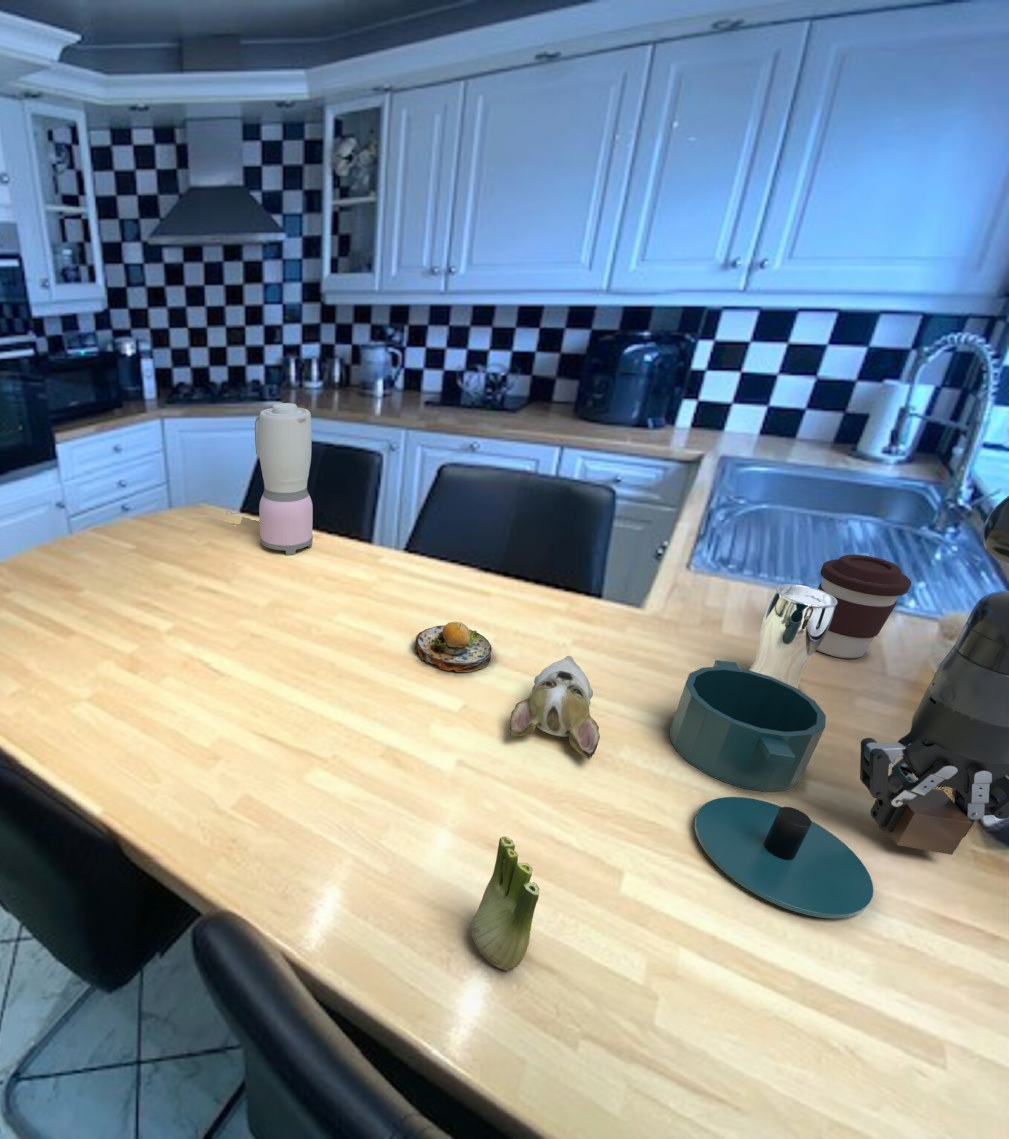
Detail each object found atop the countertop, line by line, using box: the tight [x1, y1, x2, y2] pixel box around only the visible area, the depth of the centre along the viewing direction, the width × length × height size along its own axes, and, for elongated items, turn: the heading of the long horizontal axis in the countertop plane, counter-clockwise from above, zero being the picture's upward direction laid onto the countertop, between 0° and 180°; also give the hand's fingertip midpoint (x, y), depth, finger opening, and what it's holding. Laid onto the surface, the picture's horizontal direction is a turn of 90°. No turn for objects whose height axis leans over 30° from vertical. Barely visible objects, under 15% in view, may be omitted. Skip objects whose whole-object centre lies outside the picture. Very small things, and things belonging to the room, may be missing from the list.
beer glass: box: [748, 583, 838, 690], centre depth 89 cm, size 7×7×15 cm
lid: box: [694, 796, 874, 919], centre depth 64 cm, size 15×15×6 cm
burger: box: [414, 621, 493, 673], centre depth 101 cm, size 12×12×8 cm
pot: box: [669, 659, 827, 793], centre depth 78 cm, size 14×19×8 cm
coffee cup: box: [816, 554, 912, 659], centre depth 97 cm, size 10×10×15 cm
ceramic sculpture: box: [508, 655, 601, 760], centre depth 84 cm, size 11×9×15 cm
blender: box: [254, 402, 314, 556], centre depth 139 cm, size 16×12×32 cm
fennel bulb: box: [470, 836, 540, 972], centre depth 55 cm, size 6×5×12 cm
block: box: [887, 785, 972, 856], centre depth 65 cm, size 4×4×4 cm
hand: (912, 830), depth 66 cm, fingers closed on block, 4 cm apart
